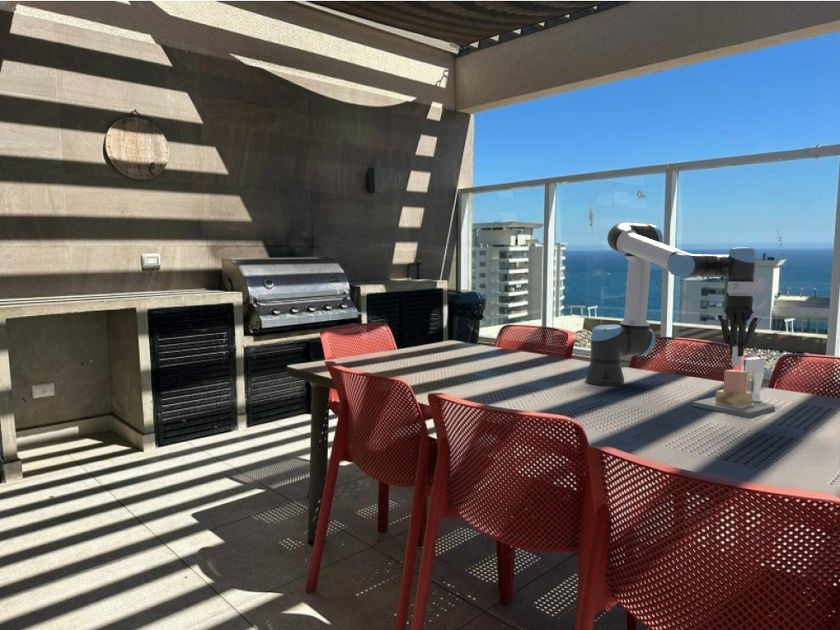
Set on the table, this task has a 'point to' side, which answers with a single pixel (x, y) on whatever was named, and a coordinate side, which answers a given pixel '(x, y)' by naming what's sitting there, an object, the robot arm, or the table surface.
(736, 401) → the oak base block
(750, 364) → the beer glass
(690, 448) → the table surface
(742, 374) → the terracotta block
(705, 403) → the build board
